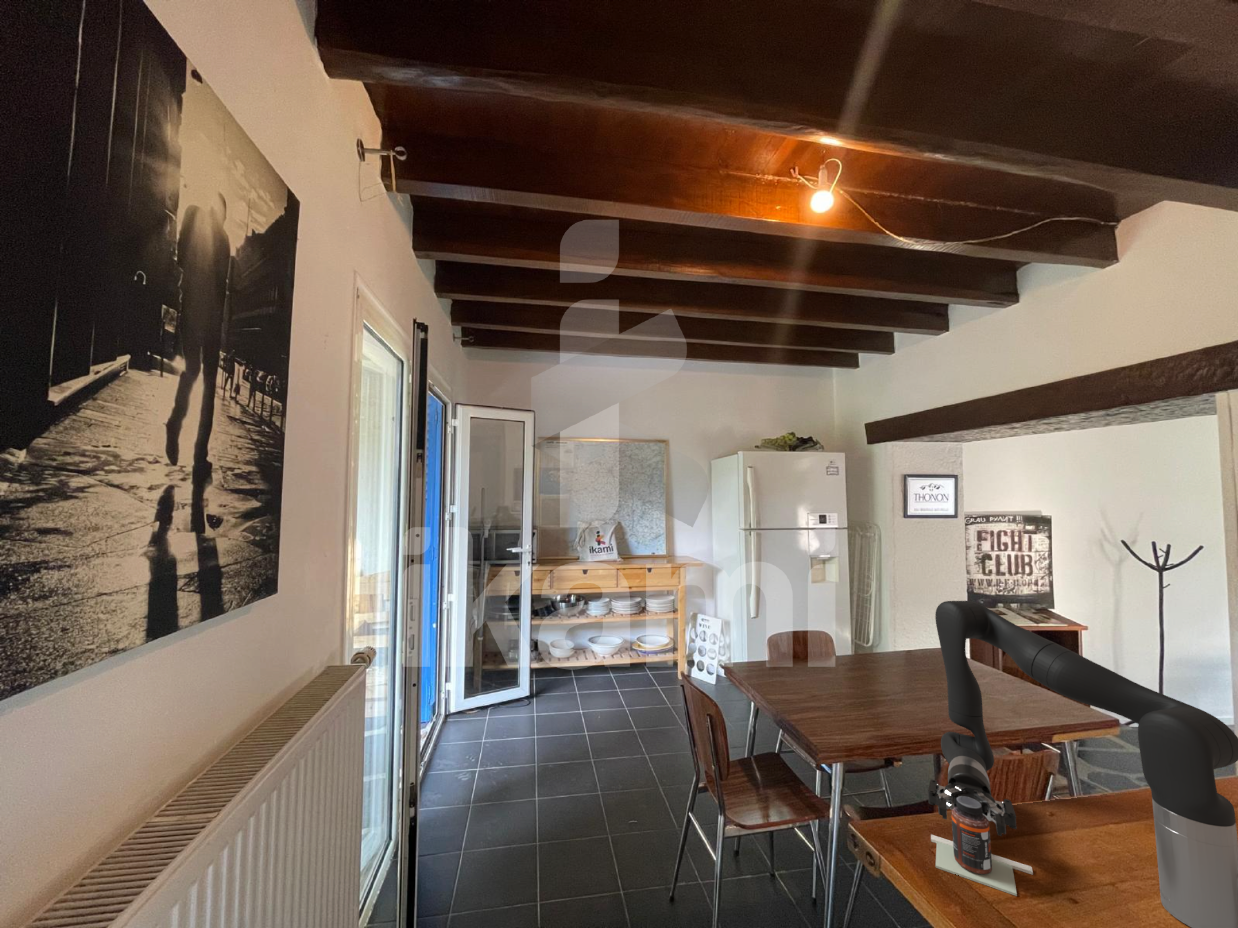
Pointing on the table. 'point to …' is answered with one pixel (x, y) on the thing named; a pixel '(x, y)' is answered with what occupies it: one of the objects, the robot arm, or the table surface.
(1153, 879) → the table surface
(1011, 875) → the white flat t-shaped panel
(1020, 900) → the table surface
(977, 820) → the supplement bottle
